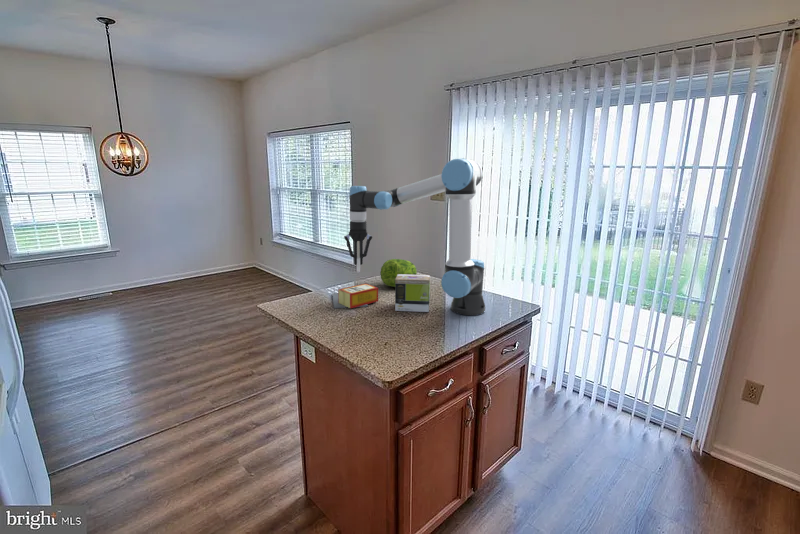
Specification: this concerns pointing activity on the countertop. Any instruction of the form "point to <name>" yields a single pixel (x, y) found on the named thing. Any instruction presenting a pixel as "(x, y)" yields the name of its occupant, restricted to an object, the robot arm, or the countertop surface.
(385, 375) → the countertop surface
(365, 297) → the baking soda box
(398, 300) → the tea box
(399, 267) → the lettuce
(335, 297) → the mat
